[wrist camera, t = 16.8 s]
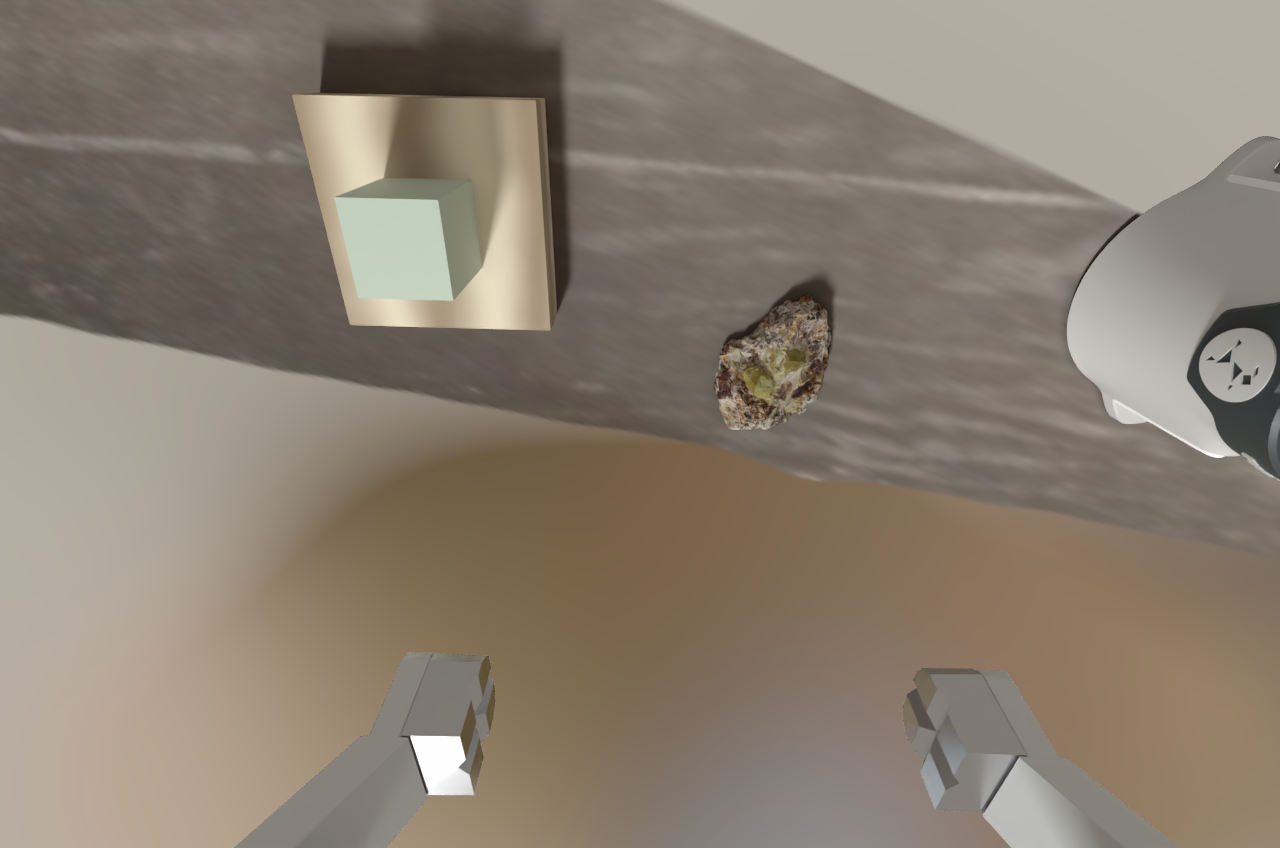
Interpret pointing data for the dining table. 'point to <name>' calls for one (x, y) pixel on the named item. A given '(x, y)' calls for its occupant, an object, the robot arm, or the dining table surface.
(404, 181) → the sage block
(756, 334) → the mineral rock
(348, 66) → the dining table surface
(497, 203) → the birch plinth
